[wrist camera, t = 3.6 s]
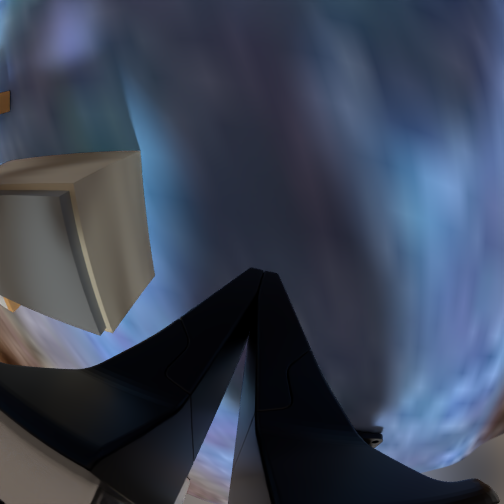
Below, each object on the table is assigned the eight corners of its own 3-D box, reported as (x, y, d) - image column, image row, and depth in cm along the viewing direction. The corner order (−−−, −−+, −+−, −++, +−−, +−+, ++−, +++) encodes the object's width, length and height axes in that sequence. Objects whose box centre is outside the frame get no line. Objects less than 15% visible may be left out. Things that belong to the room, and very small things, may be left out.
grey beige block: (143, 149, 9) (62, 188, 6) (157, 272, 12) (107, 341, 8) (13, 159, 10) (-49, 190, 7) (34, 248, 13) (-15, 290, 9)
